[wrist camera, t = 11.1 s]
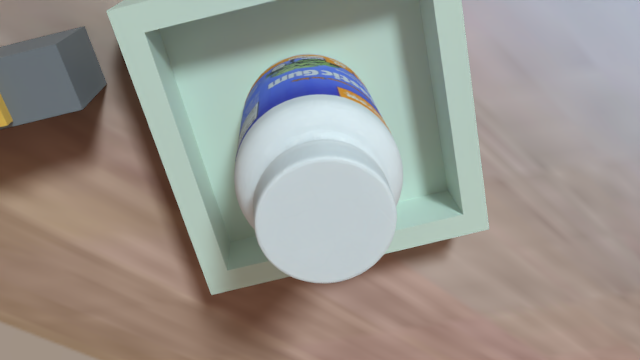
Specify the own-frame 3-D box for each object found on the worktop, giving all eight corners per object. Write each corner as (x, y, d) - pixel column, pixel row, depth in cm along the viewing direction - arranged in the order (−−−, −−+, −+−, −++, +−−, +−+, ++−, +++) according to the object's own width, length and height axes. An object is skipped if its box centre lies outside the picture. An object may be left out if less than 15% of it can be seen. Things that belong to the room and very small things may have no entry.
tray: (125, -1, 23) (106, 11, 21) (430, -77, 23) (452, -76, 20) (216, 258, 28) (211, 295, 26) (467, 198, 28) (489, 229, 25)
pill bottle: (384, 64, 25) (451, 147, 16) (354, 182, 27) (399, 315, 18) (253, 39, 24) (245, 111, 15) (232, 163, 26) (215, 292, 17)
